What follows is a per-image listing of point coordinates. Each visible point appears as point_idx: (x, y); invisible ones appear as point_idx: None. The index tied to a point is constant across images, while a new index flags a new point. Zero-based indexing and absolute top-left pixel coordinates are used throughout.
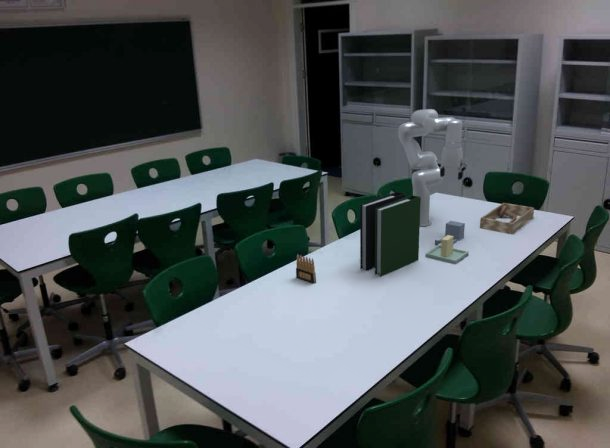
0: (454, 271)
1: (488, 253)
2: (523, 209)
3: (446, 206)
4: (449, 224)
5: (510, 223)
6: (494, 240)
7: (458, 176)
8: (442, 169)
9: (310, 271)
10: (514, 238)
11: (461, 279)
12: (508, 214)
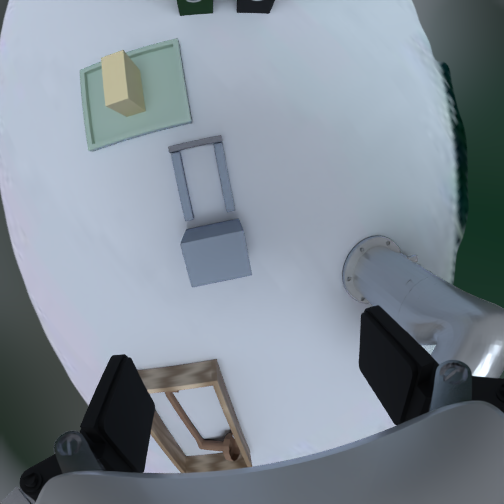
0: (68, 43)
1: (66, 209)
2: (203, 467)
3: (371, 401)
4: (226, 234)
5: None
6: (120, 308)
7: (109, 379)
8: (414, 384)
9: None
10: (105, 352)
11: (41, 33)
12: (215, 444)
